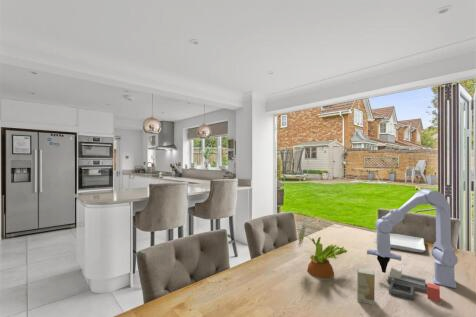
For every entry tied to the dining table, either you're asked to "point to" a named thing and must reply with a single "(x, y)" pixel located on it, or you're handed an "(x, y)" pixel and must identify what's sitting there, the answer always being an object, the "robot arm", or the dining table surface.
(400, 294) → the grey square frame
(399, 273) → the block
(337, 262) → the dining table surface
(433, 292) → the red block
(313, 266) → the decorative plant
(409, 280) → the breaker panel
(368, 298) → the skincare box
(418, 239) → the square plate
